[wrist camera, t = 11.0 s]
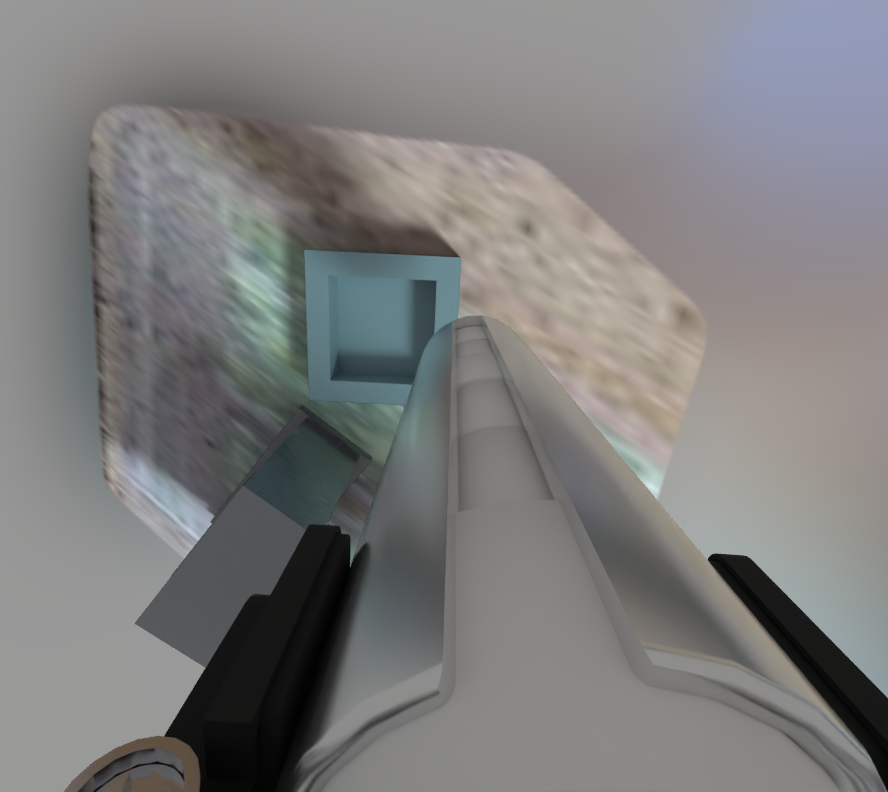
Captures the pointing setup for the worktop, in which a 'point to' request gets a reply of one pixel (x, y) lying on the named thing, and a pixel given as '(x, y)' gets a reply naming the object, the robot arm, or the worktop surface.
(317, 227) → the worktop surface
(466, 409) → the white tall cylinder
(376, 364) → the socket block
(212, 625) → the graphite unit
